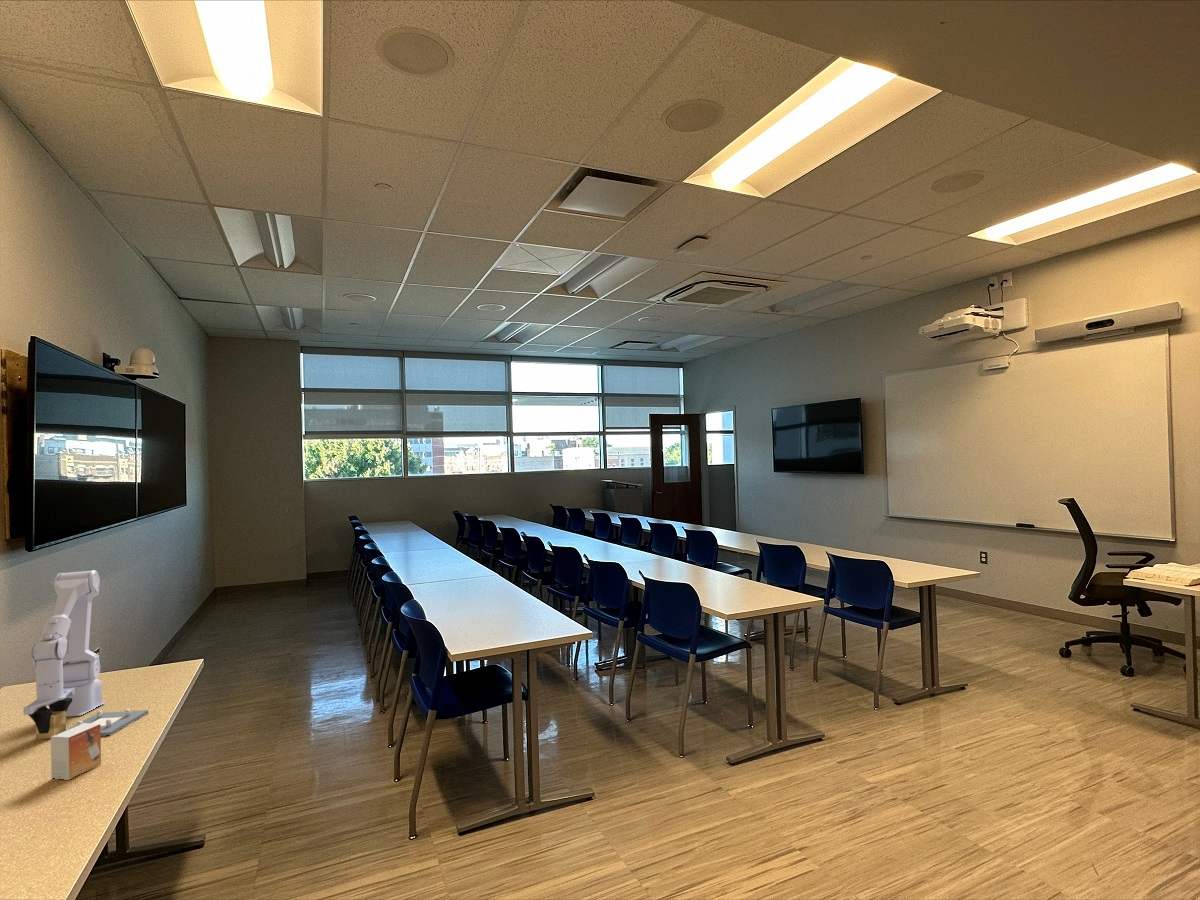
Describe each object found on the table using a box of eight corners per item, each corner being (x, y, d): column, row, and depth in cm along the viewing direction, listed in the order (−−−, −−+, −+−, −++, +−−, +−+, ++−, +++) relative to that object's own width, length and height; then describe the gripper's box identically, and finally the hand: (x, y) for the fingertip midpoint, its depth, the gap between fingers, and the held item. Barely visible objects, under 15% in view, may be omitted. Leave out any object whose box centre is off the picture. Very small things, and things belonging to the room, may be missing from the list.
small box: (68, 781, 145) (67, 737, 145) (50, 779, 146) (49, 736, 146) (102, 764, 153) (101, 723, 153) (84, 763, 154) (83, 722, 154)
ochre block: (48, 732, 173) (47, 711, 173) (66, 731, 174) (65, 710, 174) (35, 739, 169) (35, 717, 169) (54, 738, 170) (53, 716, 170)
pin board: (98, 716, 184) (98, 706, 184) (148, 713, 185) (148, 703, 185) (56, 738, 169) (55, 728, 169) (110, 735, 170) (110, 725, 170)
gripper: (41, 690, 165) (42, 740, 164) (84, 672, 179) (86, 717, 179) (15, 692, 164) (16, 741, 164) (60, 673, 179) (61, 718, 179)
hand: (51, 729), depth 171 cm, fingers closed on ochre block, 4 cm apart
